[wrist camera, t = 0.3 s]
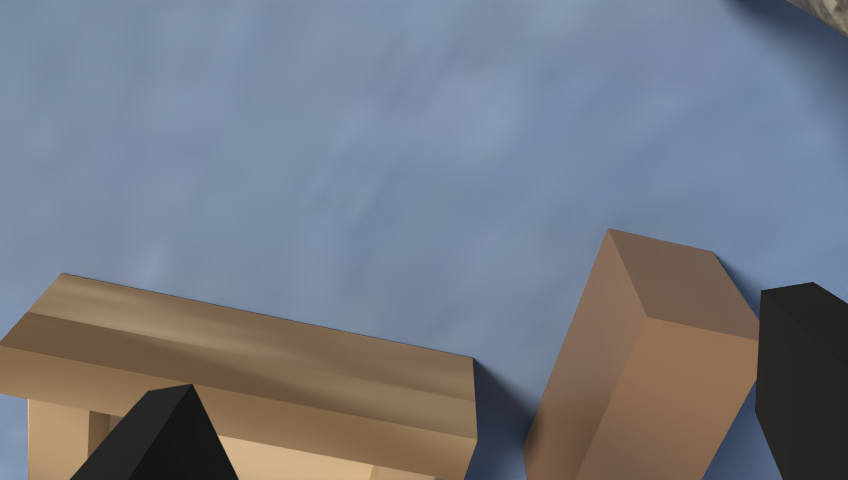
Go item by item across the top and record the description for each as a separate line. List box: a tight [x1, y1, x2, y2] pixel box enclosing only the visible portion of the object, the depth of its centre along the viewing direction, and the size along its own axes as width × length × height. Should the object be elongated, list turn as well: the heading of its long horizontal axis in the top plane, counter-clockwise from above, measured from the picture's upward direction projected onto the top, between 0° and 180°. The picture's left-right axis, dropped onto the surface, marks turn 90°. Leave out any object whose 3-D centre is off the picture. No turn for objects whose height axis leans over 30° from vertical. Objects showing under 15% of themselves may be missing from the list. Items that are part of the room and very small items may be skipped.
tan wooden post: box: [523, 228, 760, 480], centre depth 21 cm, size 8×3×4 cm, turn 167°
